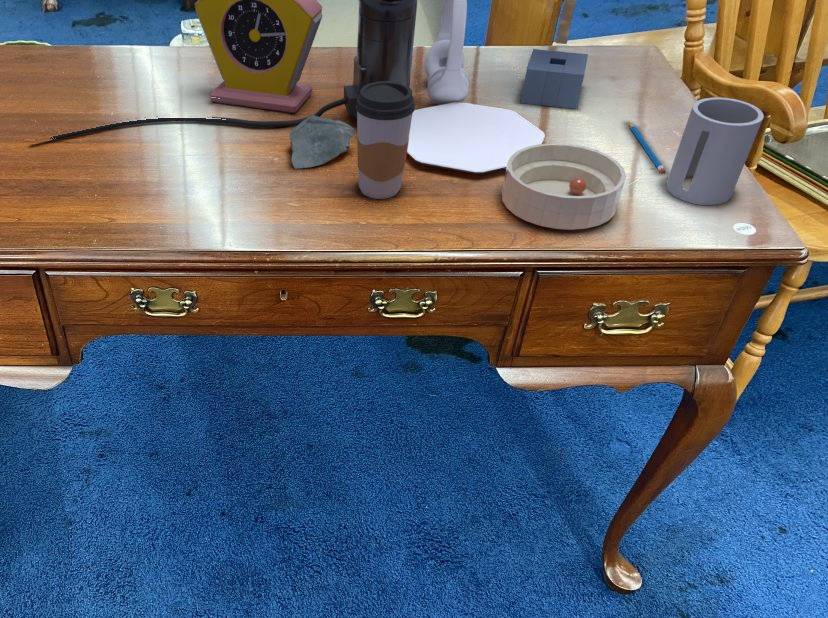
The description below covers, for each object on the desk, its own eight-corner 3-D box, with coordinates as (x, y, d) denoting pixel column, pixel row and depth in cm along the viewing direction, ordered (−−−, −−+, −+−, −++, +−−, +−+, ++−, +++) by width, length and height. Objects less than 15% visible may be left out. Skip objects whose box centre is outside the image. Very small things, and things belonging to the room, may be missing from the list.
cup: (732, 181, 122) (764, 103, 113) (729, 209, 116) (762, 130, 107) (669, 170, 125) (695, 93, 116) (662, 197, 119) (689, 119, 110)
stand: (520, 102, 143) (526, 68, 139) (526, 81, 150) (533, 48, 146) (576, 109, 141) (584, 74, 137) (580, 87, 147) (588, 54, 143)
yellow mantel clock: (196, 100, 147) (184, -29, 132) (217, 81, 153) (207, -44, 138) (309, 116, 141) (310, -17, 126) (326, 95, 148) (328, -34, 132)
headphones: (426, 116, 140) (439, -7, 126) (421, 75, 153) (432, -42, 139) (467, 117, 140) (486, -7, 126) (459, 75, 153) (474, -42, 139)
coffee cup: (406, 176, 125) (415, 79, 115) (407, 204, 119) (417, 104, 109) (353, 175, 126) (357, 79, 115) (351, 202, 120) (355, 103, 109)
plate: (552, 124, 137) (554, 116, 136) (522, 189, 121) (524, 180, 120) (418, 103, 144) (419, 95, 143) (374, 162, 129) (375, 153, 128)
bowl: (521, 237, 112) (528, 202, 108) (487, 181, 124) (493, 147, 120) (633, 228, 113) (645, 193, 109) (590, 173, 124) (599, 139, 121)
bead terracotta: (570, 198, 118) (574, 183, 116) (565, 190, 120) (568, 175, 118) (586, 196, 118) (590, 182, 117) (580, 188, 120) (584, 174, 118)
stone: (357, 172, 129) (355, 128, 133) (356, 154, 125) (354, 109, 130) (291, 178, 130) (291, 134, 134) (288, 160, 126) (288, 115, 131)
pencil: (659, 174, 124) (661, 170, 124) (626, 125, 136) (628, 121, 136) (665, 174, 124) (666, 170, 124) (631, 125, 136) (632, 121, 136)
